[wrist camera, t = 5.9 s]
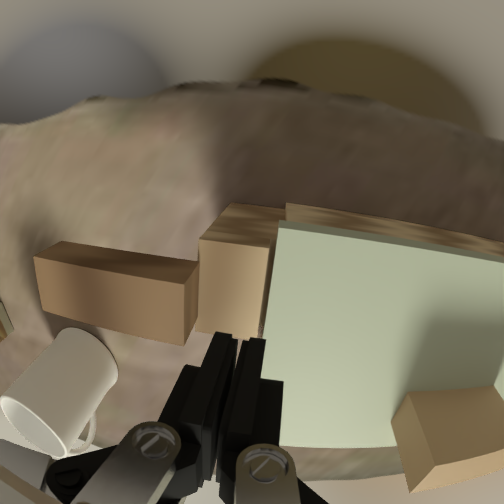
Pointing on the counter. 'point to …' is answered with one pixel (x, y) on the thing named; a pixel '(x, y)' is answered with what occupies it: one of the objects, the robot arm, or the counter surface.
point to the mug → (61, 393)
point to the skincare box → (4, 323)
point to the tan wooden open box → (262, 256)
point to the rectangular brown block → (120, 290)
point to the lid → (389, 349)
